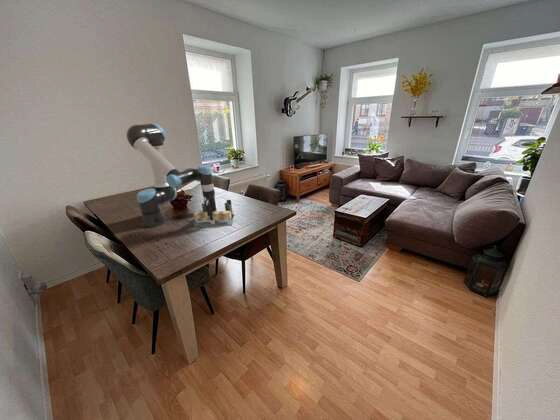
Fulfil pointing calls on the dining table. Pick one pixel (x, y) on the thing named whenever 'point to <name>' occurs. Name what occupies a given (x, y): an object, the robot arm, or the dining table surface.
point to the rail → (217, 216)
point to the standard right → (229, 207)
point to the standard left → (204, 207)
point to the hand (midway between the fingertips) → (214, 222)
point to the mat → (217, 223)
